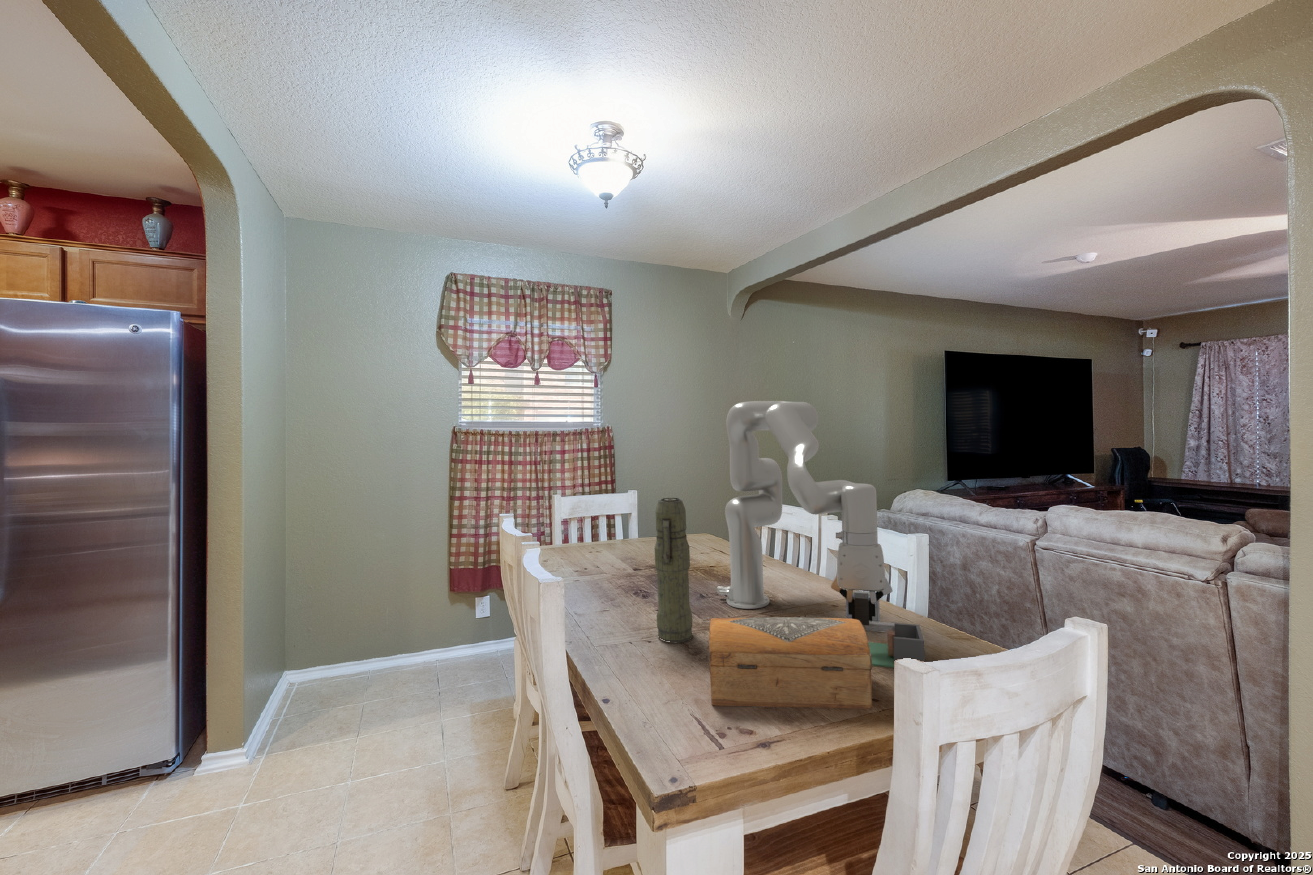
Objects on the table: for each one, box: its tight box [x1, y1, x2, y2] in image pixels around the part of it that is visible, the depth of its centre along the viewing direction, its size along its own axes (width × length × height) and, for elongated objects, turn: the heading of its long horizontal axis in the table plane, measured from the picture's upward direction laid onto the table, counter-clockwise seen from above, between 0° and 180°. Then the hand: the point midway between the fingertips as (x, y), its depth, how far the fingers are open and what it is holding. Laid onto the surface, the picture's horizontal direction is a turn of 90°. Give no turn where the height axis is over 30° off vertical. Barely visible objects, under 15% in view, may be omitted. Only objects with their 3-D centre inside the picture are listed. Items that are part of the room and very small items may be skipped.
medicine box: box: [845, 590, 881, 622], centre depth 142 cm, size 8×4×9 cm, turn 65°
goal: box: [890, 621, 926, 663], centre depth 123 cm, size 6×10×6 cm, turn 160°
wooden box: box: [708, 616, 873, 710], centre depth 111 cm, size 30×16×14 cm, turn 83°
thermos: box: [654, 497, 693, 643], centre depth 140 cm, size 9×12×35 cm
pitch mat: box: [868, 641, 895, 669], centre depth 125 cm, size 14×12×1 cm
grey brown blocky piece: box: [854, 593, 895, 657], centre depth 126 cm, size 15×4×12 cm, turn 70°
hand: (861, 617), depth 126 cm, fingers closed on grey brown blocky piece, 3 cm apart
